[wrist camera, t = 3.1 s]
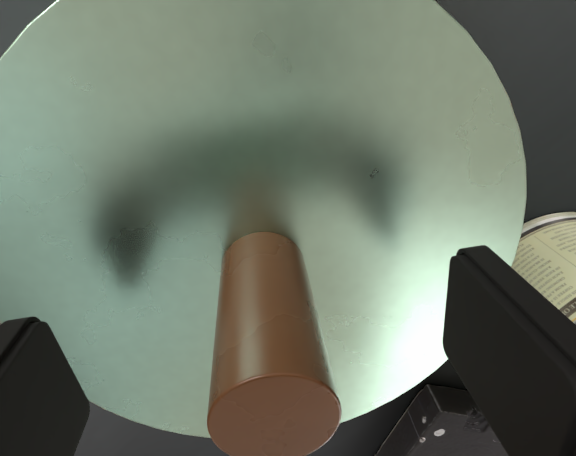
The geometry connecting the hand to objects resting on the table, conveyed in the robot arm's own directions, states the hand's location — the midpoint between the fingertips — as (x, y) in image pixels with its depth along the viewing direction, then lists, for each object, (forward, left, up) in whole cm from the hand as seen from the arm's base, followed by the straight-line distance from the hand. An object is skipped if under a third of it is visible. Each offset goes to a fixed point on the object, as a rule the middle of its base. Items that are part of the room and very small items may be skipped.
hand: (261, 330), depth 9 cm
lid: (0, 0, -3) cm, 3 cm away
